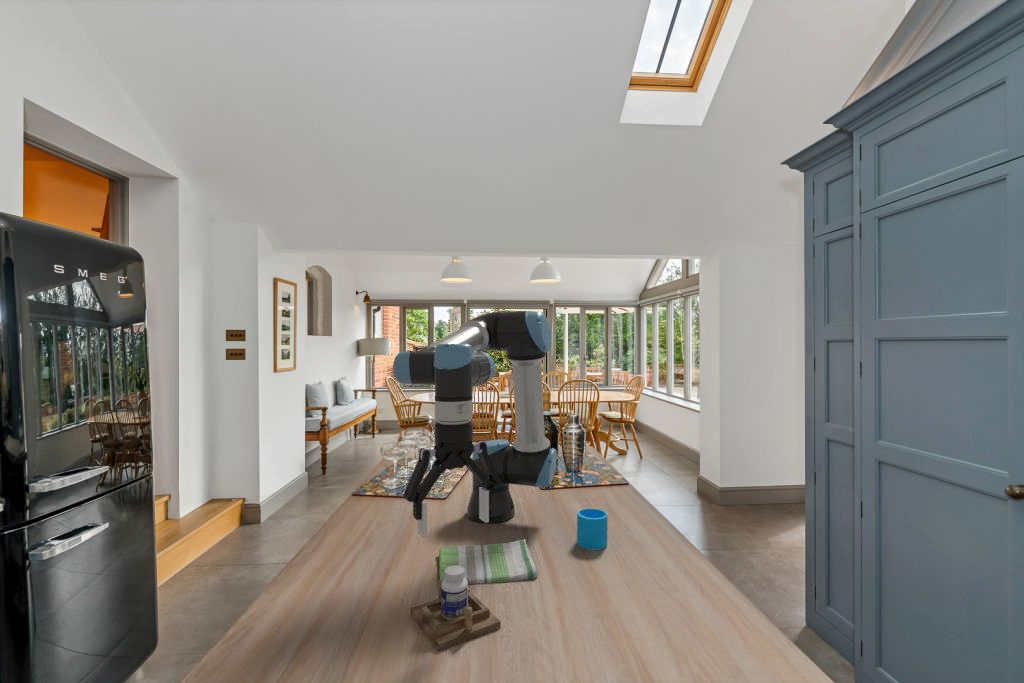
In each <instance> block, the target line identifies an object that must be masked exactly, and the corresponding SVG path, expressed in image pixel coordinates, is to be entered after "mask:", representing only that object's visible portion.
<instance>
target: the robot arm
mask: <svg viewBox="0 0 1024 683" xmlns="http://www.w3.org/2000/svg"><path fill="white" fill-rule="evenodd" d="M551 348H552V331H551V327H550V323H549V320H548V318H547V316H546V315H545V314H544V313H543V312H541V311H531V310H518V311H514V310H513V311H495V312H494V311H493V312H492V311H491V312H487V313H484V314H482V315H479V316H476V317H473V318H470V319H469V320H467V321H465V322H463V323H462V324H461V325H460V327H459V328H458V330H456V331H454V332H452V333H450V334H448V335H446V336H445V337H442V338H441V339H439V340H437V341H435V342H433V343H431V344H429V345H427V346H425V347H424V348H421V349H419V350H416V351H415V350H406V351H400V352H398V353H397V354H396V356H395V358H394V360H393V364H392V371H393V376H394V378H395V381H397V382H399V384H403V385H411V386H416V385H417V386H419V385H420V386H421V385H422V386H425V385H426V386H434V420H435V421H436V422H435V423H434V448H432V449H427V448H423V447H422V448H420V449H419V451H418V460H417V461H416V462H417V463H416V464H415V467H414V470H413V472H412V474H411V476H410V479H409V481H408V483H407V485H406V488H405V490H404V492H403V495H402V496H403V497H402V498H404V499H405V500H406V501H407V502H409V503H412V515H413V518H414V519H415V521H417V534H418V535H419V536H420V537H421V538H422V539H425V538H427V537H428V526H427V525H428V523H427V522H428V520H427V517H428V516H427V510H428V508H427V506H428V504H427V502H426V501H425V498H426V497H427V496H428V495H429V493H430V491H431V490H432V489H433V487H434V485H435V484H436V482H437V481H438V480H439V479H440V477H441V476H442V474H444V473H445V471H446V470H448V471H451V470H455V469H457V468H458V469H463V468H464V467H466V468H467V470H469V471H470V472H471V474H472V492H471V495H470V497H469V500H468V503H467V507H466V509H467V510H466V516H467V518H469V520H472V521H473V522H477V523H485V524H494V523H495V524H496V523H502V522H506V521H510V520H511V519H513V518H514V517H515V515H516V514H515V510H516V508H515V507H516V506H515V504H514V500H513V498H512V494H511V491H510V485H515V486H516V485H517V486H527V487H534V488H540V487H541V488H547V487H549V486H550V485H551V484H552V482H553V479H554V477H555V473H556V472H555V471H556V467H557V462H558V461H557V460H558V453H557V452H558V451H557V450H556V448H554V447H552V448H551V441H550V439H548V438H547V437H546V433H545V431H546V430H545V415H544V412H545V411H544V410H545V409H544V394H543V379H542V378H543V374H542V361H543V360H544V359H545V358H546V357H547V354H546V353H547V352H549V351H550V350H551ZM486 351H488V352H490V351H491V352H506V354H505V355H506V359H507V361H508V362H510V363H511V365H512V380H513V382H512V384H513V397H514V413H515V414H514V415H515V427H516V428H515V429H516V438H515V440H513V442H512V445H510V444H511V443H510V440H508V439H492V440H491V439H490V440H485V441H482V440H477V441H476V442H473V437H474V436H473V434H474V432H473V430H474V428H473V427H474V425H473V424H474V423H473V422H472V421H471V420H472V419H473V418H474V416H473V415H474V414H473V413H474V412H473V404H474V403H473V402H474V401H473V398H474V397H473V394H474V393H473V392H474V391H473V390H474V389H473V388H474V387H480V386H483V385H484V384H486V383H488V382H489V381H490V380H492V378H493V377H494V375H495V372H496V364H495V361H494V359H493V358H492V356H491V355H490V354H489V353H487V352H486ZM471 456H472V457H471ZM433 457H434V458H435V461H434V462H433V463H432V465H431V468H430V470H429V472H428V473H427V474H426V472H427V469H428V467H429V464H430V461H432V459H433ZM425 474H426V476H425ZM424 476H425V477H424Z"/></svg>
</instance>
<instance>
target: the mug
mask: <svg viewBox="0 0 1024 683" xmlns="http://www.w3.org/2000/svg"><path fill="white" fill-rule="evenodd" d="M576 543H577V545H578V546H579V547H580V548H583V549H586V550H592V551H594V550H595V551H597V550H599V551H600V550H603V549H605V548H606V547H608V513H607V512H606V511H604V510H602V509H598V508H582V509H579V510H577V513H576Z"/></svg>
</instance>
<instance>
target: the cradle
mask: <svg viewBox="0 0 1024 683" xmlns="http://www.w3.org/2000/svg"><path fill="white" fill-rule="evenodd" d="M442 582H443V580H440V581H439V580H438V582H437V584H438V585H437V586H438V588H437V589H438V590H437V596H438V597H437V598H438V599H434V600H431V601H428V602H425V603H423V604H419V605H415V606H413V607H412V606H411V607H410V610H409V611H410V613H411V614H410V616H411V617H412V616H413V617H412V618H413V619H414V621H415V620H416V621H415V622H416V623H417V624H418V625H419V628H421V629H422V631H423V632H424V634H426V636H427V638H429V640H430V642H432V644H433V645H434V646H435V648H436V650H438V651H439V652H440V651H442V650H446V649H448V648H450V647H451V648H452V647H453V646H455V645H459V644H461V643H464V642H467V641H469V640H472V639H473V638H477V637H479V636H483V635H485V634H487V633H490V632H493V631H496V630H498V629H500V628H501V624H502V623H501V620H500V619H499V618H498V617H497V616H495V614H493V613H492V611H491V610H490V609H489V607H487V606H486V605H485V603H483V602H482V601H481V600H480V599H479V598H478V597H477V596H476V595H474V593H472V592H471V591H470V590H469V589H468V607H466V608H465V615H464V616H461V617H458V618H455V619H452V620H446V619H445V618H443V616H442V614H441V584H442Z"/></svg>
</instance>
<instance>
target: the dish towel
mask: <svg viewBox="0 0 1024 683" xmlns="http://www.w3.org/2000/svg"><path fill="white" fill-rule="evenodd" d="M438 550H439V552H438V553H439V554H438V556H439V557H438V558H439V565H438V566H439V570H438V574H439V576H440V580H444V579H445V578H444V571H445V569H446V568H447V567H449V566H455V565H457V566H461V567H463V568H464V571H465V575H464V578H465V579H466V580H467V582H468V585H477V583H480V584H489V583H490V584H494V583H495V584H496V583H510V582H516V581H517V582H518V581H526V580H535V579H536V578H538V572H537V567H536V565H535V563H534V560H533V558H532V555H531V553H530V551H529V548H528V545H527V542H526V539H525V538H523V539H520V540H519V539H518V540H515V541H510V542H504V543H503V542H502V543H491V544H490V543H489V544H483V545H476V544H475V545H473V544H470V545H469V544H467V545H466V544H465V545H456V546H455V545H453V546H446V547H444V546H443V547H440V548H439V549H438ZM440 580H439V579H438V581H440Z"/></svg>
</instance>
